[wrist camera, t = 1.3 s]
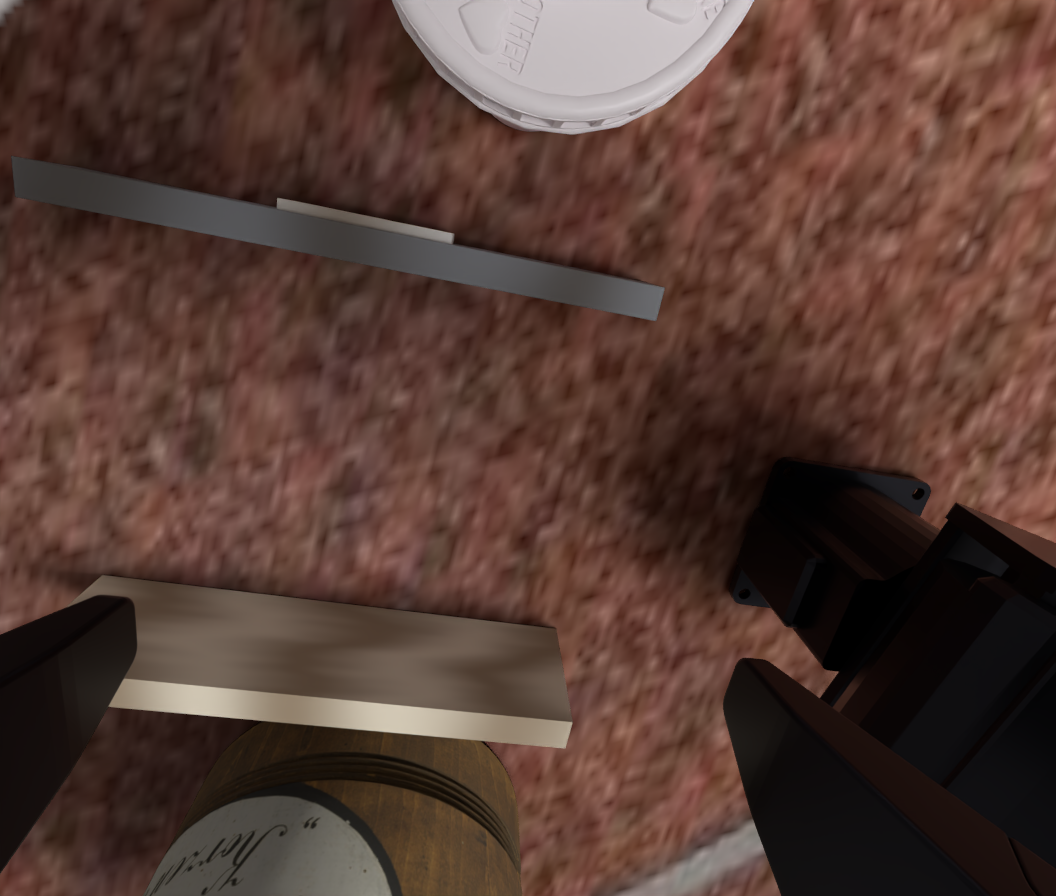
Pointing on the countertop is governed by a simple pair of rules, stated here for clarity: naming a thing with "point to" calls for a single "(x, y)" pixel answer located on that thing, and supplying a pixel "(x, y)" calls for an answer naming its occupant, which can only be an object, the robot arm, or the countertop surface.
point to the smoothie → (570, 54)
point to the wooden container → (347, 818)
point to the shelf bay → (318, 626)
